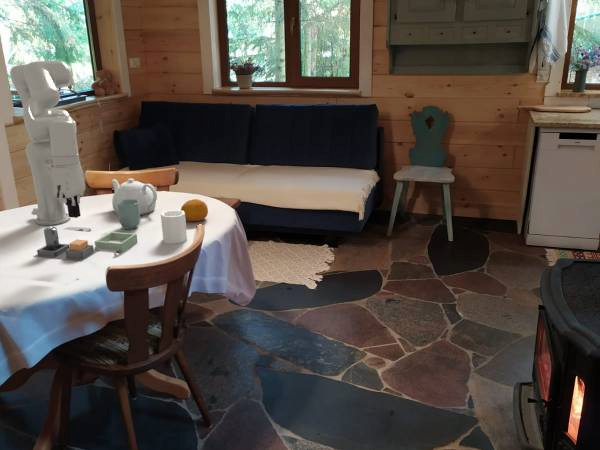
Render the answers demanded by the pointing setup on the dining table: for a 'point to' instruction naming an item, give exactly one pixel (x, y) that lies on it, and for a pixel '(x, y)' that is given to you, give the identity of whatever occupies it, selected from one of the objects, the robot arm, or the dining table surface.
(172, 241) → the mug
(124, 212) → the cup
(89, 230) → the handheld gaming console
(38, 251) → the grey two-pocket panel
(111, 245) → the green square tray
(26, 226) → the dining table surface
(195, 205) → the fruit
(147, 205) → the teapot
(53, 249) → the cylinder
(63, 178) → the robot arm
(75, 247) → the orange block
